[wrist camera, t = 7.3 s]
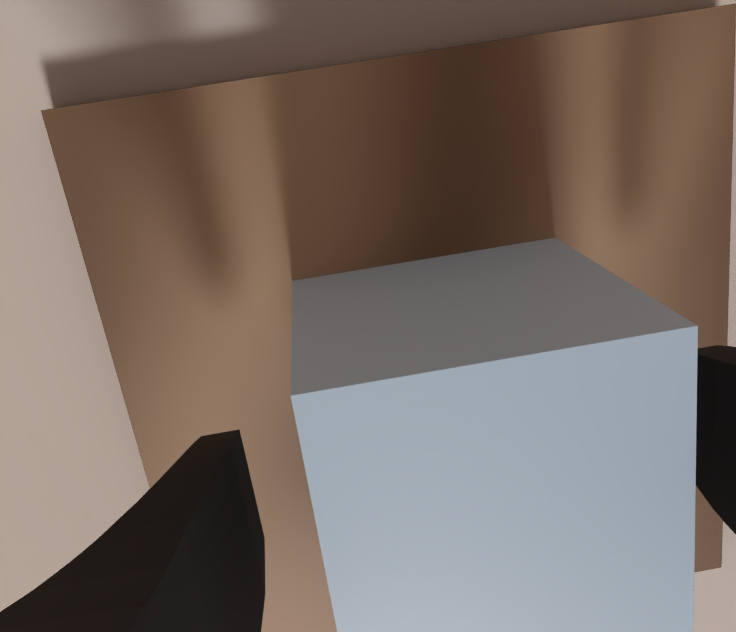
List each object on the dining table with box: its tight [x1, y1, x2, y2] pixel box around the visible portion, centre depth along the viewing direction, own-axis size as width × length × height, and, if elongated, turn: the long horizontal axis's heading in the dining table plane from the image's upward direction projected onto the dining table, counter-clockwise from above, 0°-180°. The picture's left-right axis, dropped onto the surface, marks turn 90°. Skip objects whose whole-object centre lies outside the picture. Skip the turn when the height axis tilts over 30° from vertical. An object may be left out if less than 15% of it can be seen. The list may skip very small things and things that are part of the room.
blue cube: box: [291, 238, 698, 632], centre depth 12 cm, size 5×5×5 cm
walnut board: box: [41, 4, 736, 632], centre depth 14 cm, size 12×12×1 cm
